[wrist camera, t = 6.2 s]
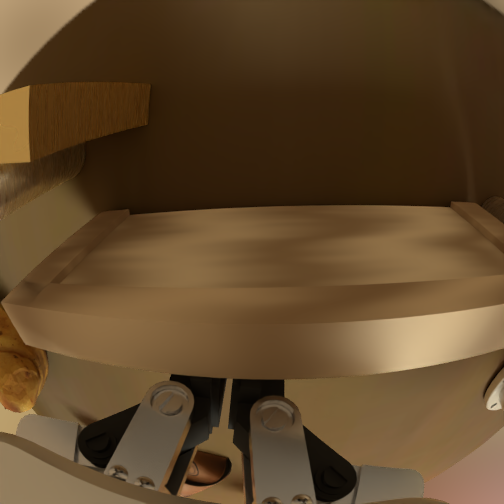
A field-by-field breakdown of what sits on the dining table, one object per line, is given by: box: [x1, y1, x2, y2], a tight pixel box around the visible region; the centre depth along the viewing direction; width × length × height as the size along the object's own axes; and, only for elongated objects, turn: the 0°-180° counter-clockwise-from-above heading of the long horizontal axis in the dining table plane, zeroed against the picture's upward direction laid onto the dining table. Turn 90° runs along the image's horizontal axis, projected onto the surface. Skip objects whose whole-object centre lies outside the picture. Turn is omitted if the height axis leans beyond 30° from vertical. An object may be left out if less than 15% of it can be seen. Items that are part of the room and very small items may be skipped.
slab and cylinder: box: [0, 82, 151, 221], centre depth 8 cm, size 7×5×8 cm
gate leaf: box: [1, 201, 504, 379], centre depth 9 cm, size 18×2×7 cm, turn 94°
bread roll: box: [0, 304, 48, 413], centre depth 17 cm, size 13×10×8 cm
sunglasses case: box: [180, 451, 232, 497], centre depth 30 cm, size 18×7×7 cm
